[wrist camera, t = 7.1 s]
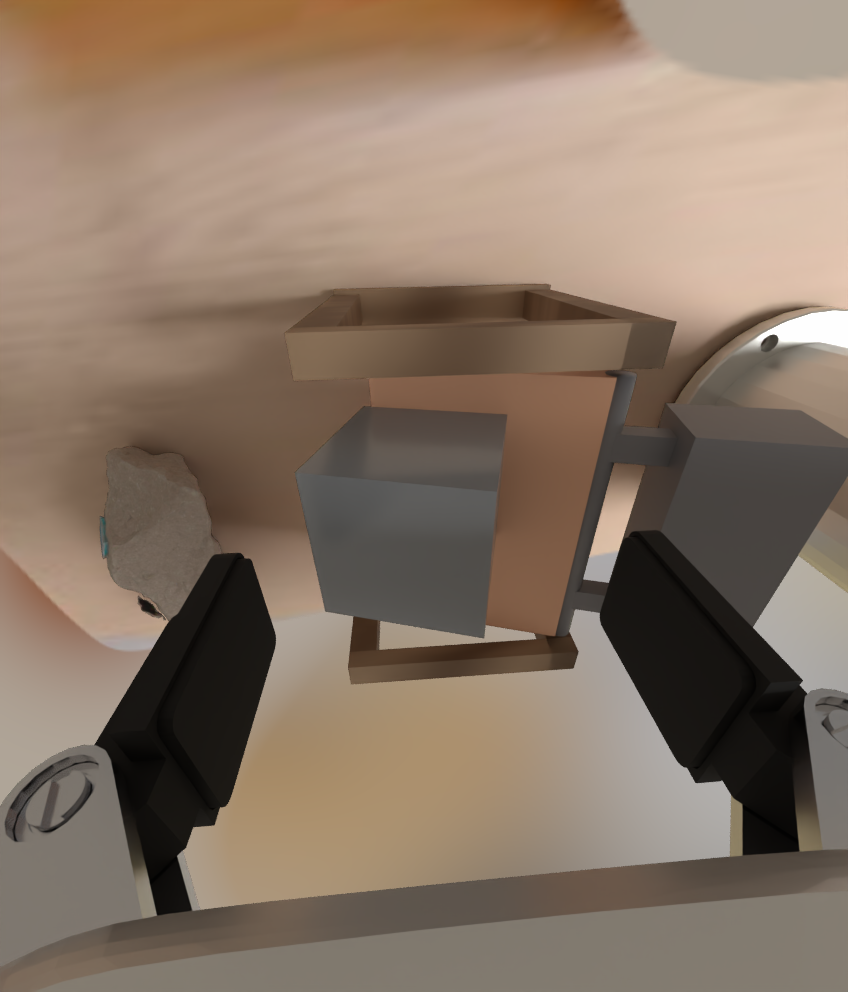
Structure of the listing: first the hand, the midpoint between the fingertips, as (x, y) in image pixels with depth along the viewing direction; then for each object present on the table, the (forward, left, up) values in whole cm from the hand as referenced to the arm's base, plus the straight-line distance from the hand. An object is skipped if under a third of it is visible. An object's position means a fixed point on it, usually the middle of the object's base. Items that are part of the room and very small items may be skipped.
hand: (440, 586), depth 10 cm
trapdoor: (-5, +2, -6) cm, 9 cm away
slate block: (0, 0, -6) cm, 6 cm away
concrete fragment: (+15, +9, -15) cm, 22 cm away
